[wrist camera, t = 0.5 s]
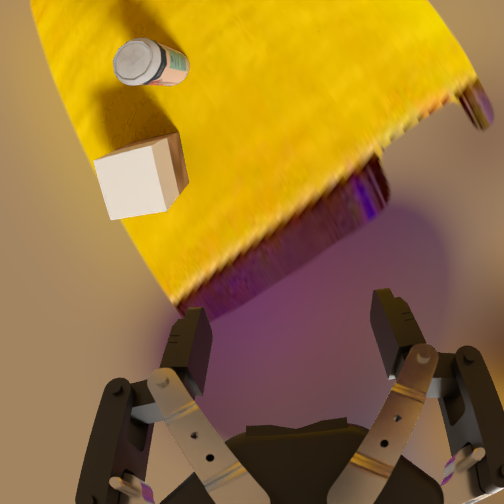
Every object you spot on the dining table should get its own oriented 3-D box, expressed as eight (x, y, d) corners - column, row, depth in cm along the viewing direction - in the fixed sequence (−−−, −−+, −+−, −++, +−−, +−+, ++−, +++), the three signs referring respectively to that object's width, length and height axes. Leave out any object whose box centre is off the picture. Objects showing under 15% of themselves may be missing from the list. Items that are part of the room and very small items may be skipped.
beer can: (146, 70, 30) (99, 65, 20) (173, 43, 29) (134, 26, 18) (170, 93, 32) (130, 96, 22) (198, 67, 30) (168, 56, 20)
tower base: (131, 142, 35) (114, 150, 31) (179, 131, 35) (167, 137, 30) (142, 190, 39) (128, 203, 34) (189, 182, 38) (179, 194, 34)
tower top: (114, 150, 31) (93, 161, 27) (166, 137, 30) (151, 145, 26) (128, 203, 35) (110, 220, 30) (179, 194, 34) (166, 211, 29)
